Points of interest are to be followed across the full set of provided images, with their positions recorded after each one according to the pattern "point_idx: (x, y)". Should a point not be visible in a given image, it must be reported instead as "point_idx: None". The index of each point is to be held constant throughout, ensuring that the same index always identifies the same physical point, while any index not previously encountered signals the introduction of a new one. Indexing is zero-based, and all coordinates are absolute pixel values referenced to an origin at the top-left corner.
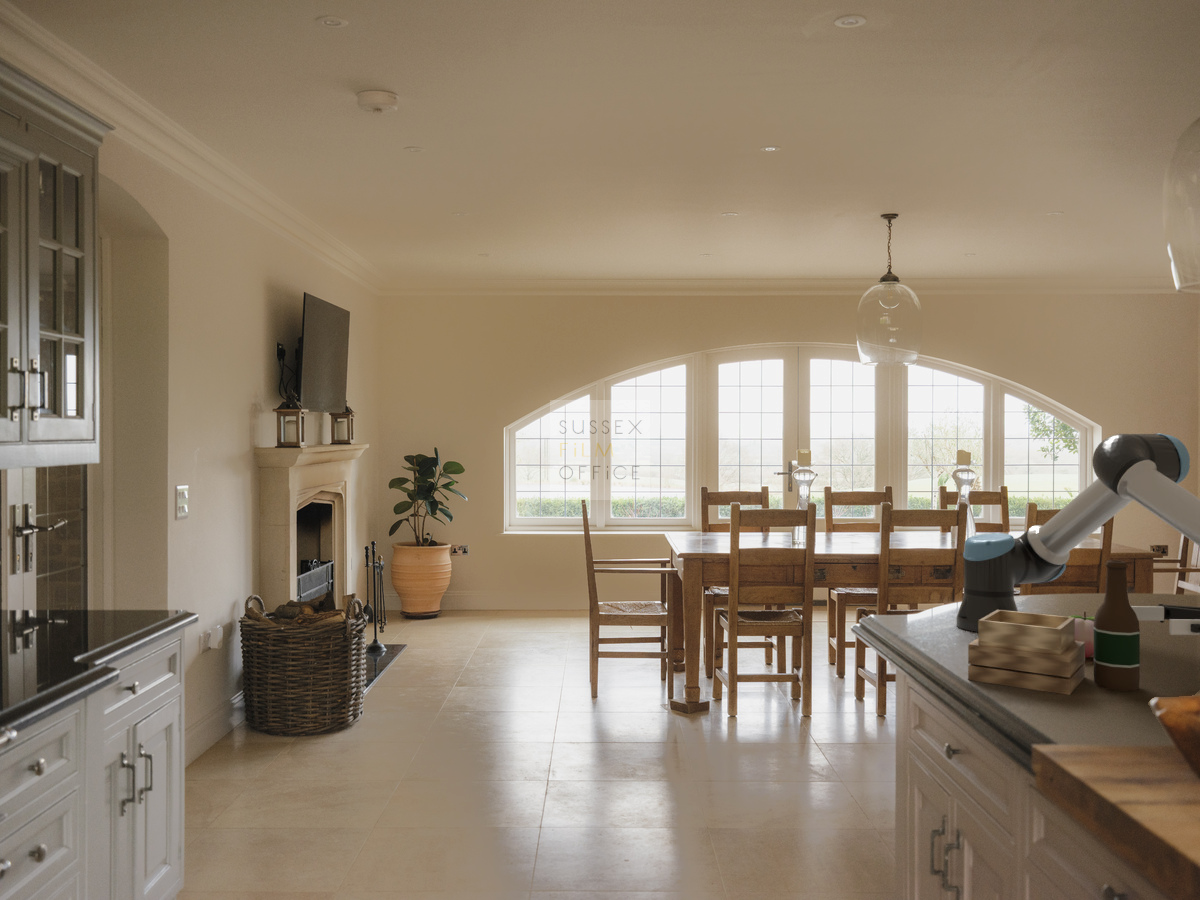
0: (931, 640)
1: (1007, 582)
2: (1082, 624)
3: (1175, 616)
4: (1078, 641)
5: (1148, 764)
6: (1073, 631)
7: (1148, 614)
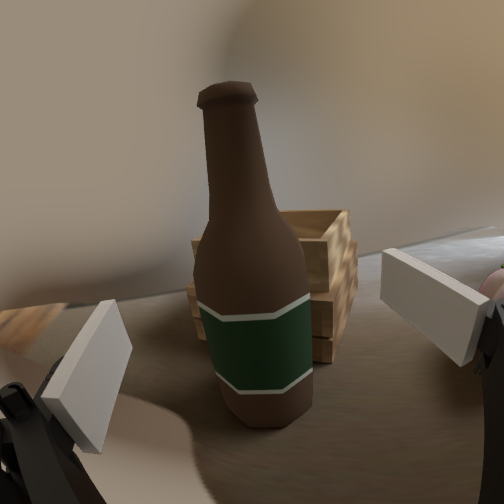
0: (443, 250)
1: None
2: (497, 285)
3: (490, 382)
4: (332, 295)
5: (11, 334)
6: (312, 268)
7: (422, 307)
